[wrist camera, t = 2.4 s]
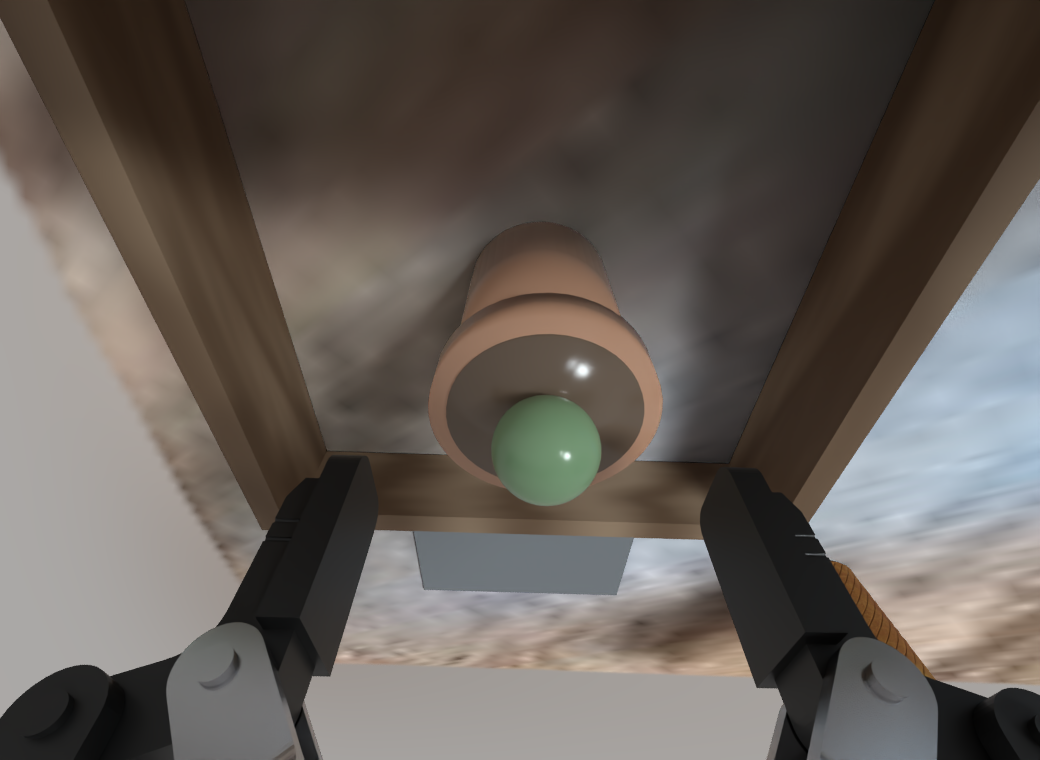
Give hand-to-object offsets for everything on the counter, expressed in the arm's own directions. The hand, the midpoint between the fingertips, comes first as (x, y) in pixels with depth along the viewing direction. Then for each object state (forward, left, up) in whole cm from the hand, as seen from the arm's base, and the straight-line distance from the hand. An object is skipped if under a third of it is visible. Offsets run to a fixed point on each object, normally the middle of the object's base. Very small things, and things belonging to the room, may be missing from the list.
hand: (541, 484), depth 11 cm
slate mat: (0, +18, -11) cm, 21 cm away
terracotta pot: (0, 0, -10) cm, 10 cm away
